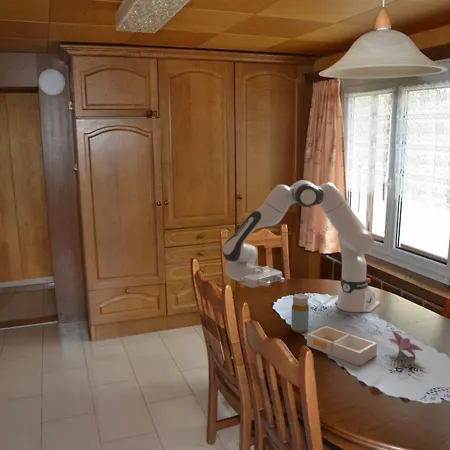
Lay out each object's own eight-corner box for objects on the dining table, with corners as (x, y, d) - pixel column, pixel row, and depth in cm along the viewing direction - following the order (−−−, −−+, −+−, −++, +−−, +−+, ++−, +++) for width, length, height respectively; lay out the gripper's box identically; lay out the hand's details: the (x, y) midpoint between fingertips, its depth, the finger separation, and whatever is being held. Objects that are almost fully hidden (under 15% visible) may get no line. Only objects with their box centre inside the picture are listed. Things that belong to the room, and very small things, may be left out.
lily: (424, 368, 169) (429, 341, 171) (396, 358, 166) (402, 331, 168) (402, 363, 180) (408, 338, 182) (376, 354, 178) (382, 329, 180)
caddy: (325, 336, 193) (325, 325, 192) (376, 355, 176) (377, 343, 176) (306, 345, 185) (306, 334, 184) (358, 366, 168) (358, 353, 167)
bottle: (307, 334, 196) (308, 299, 193) (290, 332, 197) (291, 298, 195) (308, 327, 203) (309, 294, 200) (291, 326, 204) (292, 293, 202)
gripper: (237, 273, 209) (259, 279, 199) (268, 265, 223) (291, 271, 213) (236, 286, 210) (259, 294, 200) (268, 278, 224) (290, 284, 214)
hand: (276, 282), depth 206 cm, fingers open, 8 cm apart
